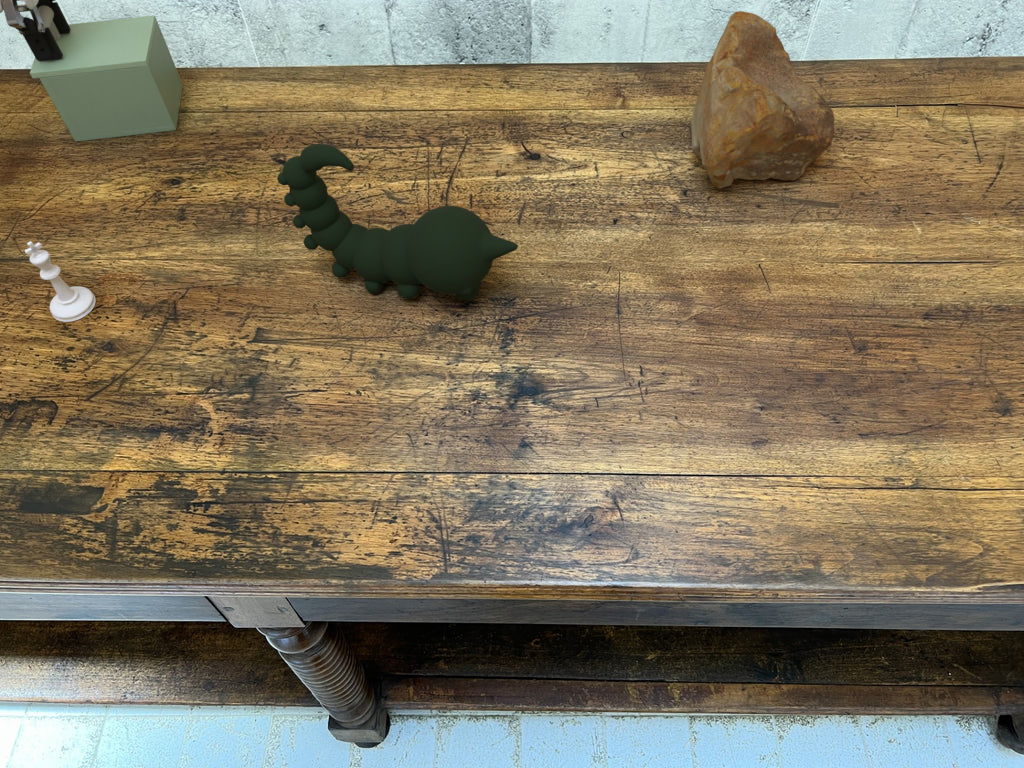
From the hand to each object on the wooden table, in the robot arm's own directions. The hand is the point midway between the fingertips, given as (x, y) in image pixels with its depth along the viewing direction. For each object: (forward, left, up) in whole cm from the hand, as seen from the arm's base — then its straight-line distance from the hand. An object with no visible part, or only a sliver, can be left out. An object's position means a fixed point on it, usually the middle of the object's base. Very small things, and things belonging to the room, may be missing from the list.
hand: (54, 44), depth 106 cm
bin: (+5, 0, -11) cm, 12 cm away
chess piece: (+3, -36, -11) cm, 38 cm away
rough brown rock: (+87, -25, -11) cm, 92 cm away
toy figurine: (+42, -39, -11) cm, 59 cm away
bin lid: (+5, 0, -1) cm, 5 cm away
